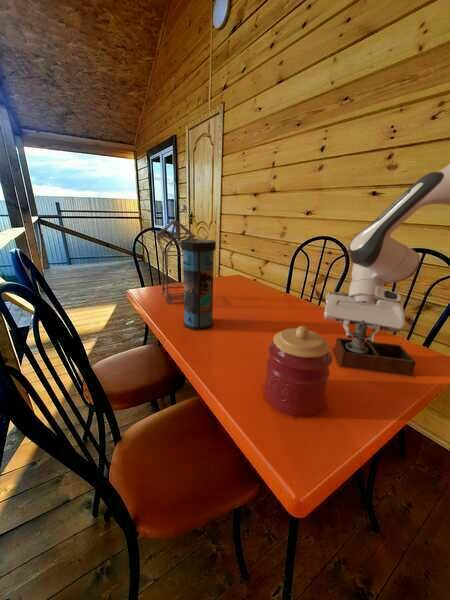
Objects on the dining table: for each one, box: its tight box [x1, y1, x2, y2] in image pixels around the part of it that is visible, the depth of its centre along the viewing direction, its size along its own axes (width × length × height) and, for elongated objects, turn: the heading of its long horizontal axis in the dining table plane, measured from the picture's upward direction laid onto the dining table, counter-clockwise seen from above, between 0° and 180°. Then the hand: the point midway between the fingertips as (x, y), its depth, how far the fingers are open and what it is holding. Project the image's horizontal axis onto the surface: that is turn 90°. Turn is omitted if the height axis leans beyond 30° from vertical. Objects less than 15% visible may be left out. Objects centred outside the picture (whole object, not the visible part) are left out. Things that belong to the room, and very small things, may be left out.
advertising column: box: [180, 238, 217, 331], centre depth 87 cm, size 11×11×30 cm
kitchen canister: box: [264, 325, 333, 418], centre depth 55 cm, size 13×13×18 cm
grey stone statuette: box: [345, 320, 369, 354], centre depth 70 cm, size 6×6×12 cm
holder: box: [333, 337, 417, 377], centre depth 71 cm, size 17×9×5 cm, turn 78°
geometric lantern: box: [155, 220, 197, 305], centre depth 110 cm, size 16×16×35 cm
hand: (359, 339), depth 70 cm, fingers open, 4 cm apart
